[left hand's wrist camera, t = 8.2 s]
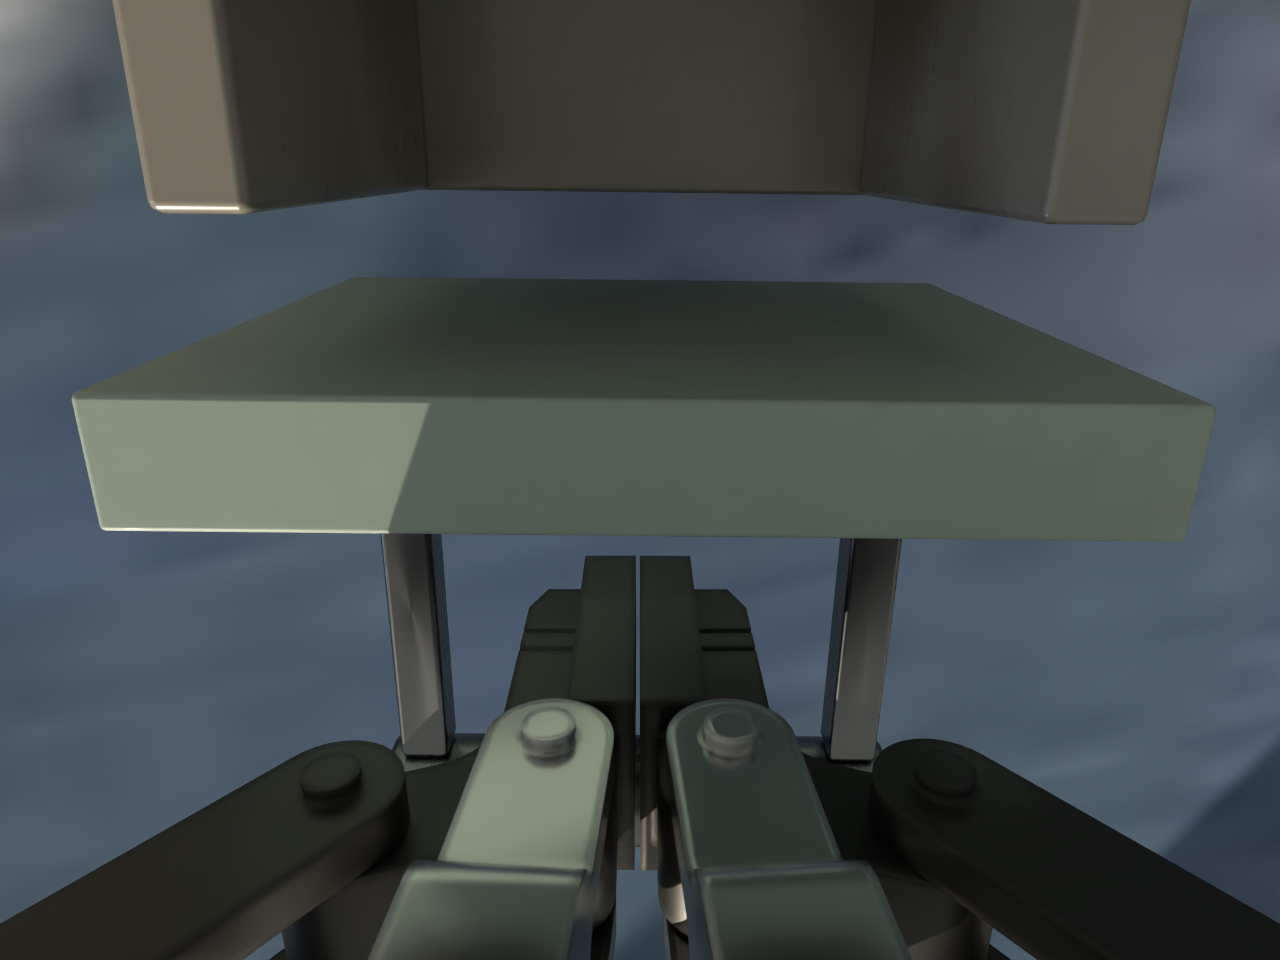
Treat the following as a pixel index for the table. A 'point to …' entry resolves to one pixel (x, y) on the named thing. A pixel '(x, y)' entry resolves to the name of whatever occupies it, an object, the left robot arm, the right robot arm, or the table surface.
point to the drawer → (647, 296)
